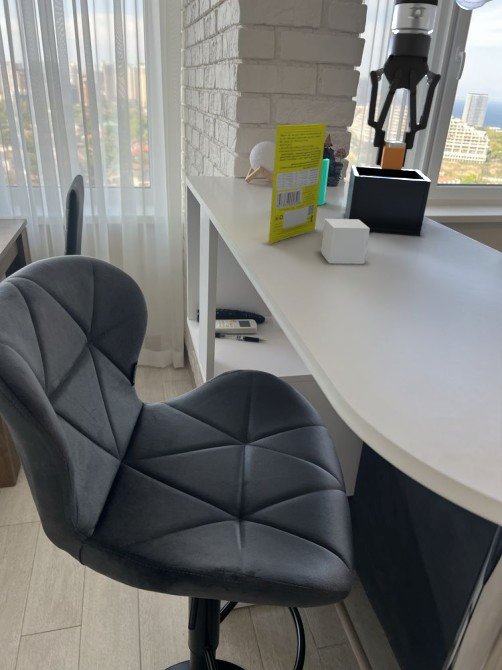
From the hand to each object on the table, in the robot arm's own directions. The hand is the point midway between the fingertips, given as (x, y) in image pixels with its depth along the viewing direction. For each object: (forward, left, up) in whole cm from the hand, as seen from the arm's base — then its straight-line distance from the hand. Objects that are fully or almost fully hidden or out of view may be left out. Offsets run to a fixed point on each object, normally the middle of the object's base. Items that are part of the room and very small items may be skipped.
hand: (389, 165), depth 104 cm
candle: (+15, -18, -13) cm, 27 cm away
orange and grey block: (0, 0, 0) cm, 0 cm away
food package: (+18, +16, -13) cm, 27 cm away
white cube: (+9, +27, -13) cm, 31 cm away
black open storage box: (0, 0, -12) cm, 12 cm away
